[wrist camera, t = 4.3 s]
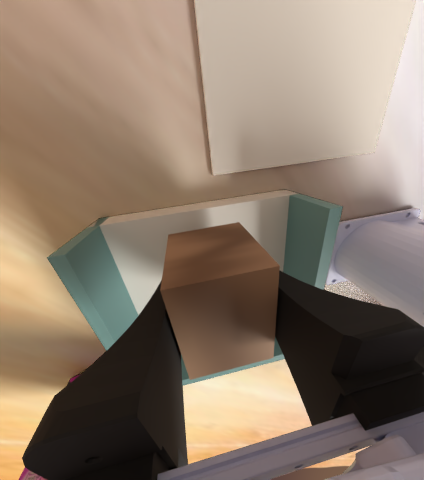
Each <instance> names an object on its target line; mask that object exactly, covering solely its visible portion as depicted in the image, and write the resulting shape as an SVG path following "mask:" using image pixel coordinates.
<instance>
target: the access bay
mask: <svg viewBox="0 0 424 480" xmlns="http://www.w3.org/2000/svg"><path fill="white" fill-rule="evenodd" d="M342 208H343V206H339V205H336V204H333V203H329V202H326V201H323V200H319V199H316V198H312V197H309V196H306V195H302V194H299V193H296V192H292V191H289V190H286V189H284V190H278V191H272V192H265V193H259V194H252V195H246V196H240V197H233V198H227V199H220V200H214V201H207V202H201V203H195V204H188V205H182V206H175V207H169V208H163V209H156V210H150V211H143V212H137V213H131V214H124V215H118V216H111V217H105V218H99V219H98V220H96V221H95V222H94V223H92V224H91V225H90V226H88V227H87V228H86V229H84V230H83V231H82V232H80V233H79V234H78V235H76V236H75V237H74V238H72V239H71V240H70V241H68V242H67V243H66V244H64V245H63V246H62V247H61V248H59V249H58V250H57V251H55V252H54V253H53V254H51V255H50V256H49V257H47V259H48V260H49V262H50V263H51V265H52V266H53V268H54V270H55V271H56V273H57V274H58V276H59V277H60V279H61V281H62V282H63V284H64V285H65V287H66V288H67V290H68V292H69V293H70V295H71V296H72V298H73V299H74V301H75V302H76V304H77V306H78V307H79V309H80V310H81V312H82V313H83V315H84V317H85V318H86V320H87V321H88V323H89V324H90V326H91V328H92V329H93V331H94V332H95V334H96V335H97V337H98V338H99V340H100V342H101V343H102V345H103V346H104V348H105V349H106V351H107V350H108V349H109V348H110V347H111V346H112V345H113V344H114V343H115V342H116V341H117V340H118V339H119V338H120V336H121V335H122V334H123V333H124V332H125V331H126V330H127V329H128V328H129V327H130V325H131V324H132V323H133V322H134V321H135V319H136V318H137V317H138V316H139V314H140V313H141V312H142V310H143V309H144V307H145V306H146V304H147V303H148V302H149V300H150V298H151V297H152V295H153V294H154V292H155V290H156V289H157V287H158V285H159V284H160V282H161V280H162V275H163V268H164V261H165V254H166V247H167V240H168V235H169V234H175V233H180V232H186V231H192V230H197V229H203V228H209V227H214V226H220V225H226V224H231V223H237V222H239V223H240V224H241V225H242V226H243V227H244V228H245V229H246V230H247V231H248V232H249V233H250V234H251V235H252V236H253V238H254V239H255V240H256V241H257V242H258V243H259V244H260V245H261V246H262V247H263V248H264V249H265V250H266V251H267V253H268V254H269V255H270V256H271V257H272V258H273V259H274V260H275V261H276V262H277V263H278V264H279V265H280V271H282V272H284V273H286V274H288V275H290V276H292V277H294V278H296V279H298V280H300V281H303V282H305V283H307V284H310V285H312V286H315V287H317V288H320V289H323V290H324V287H325V282H326V278H327V274H328V269H329V265H330V261H331V256H332V252H333V248H334V243H335V239H336V234H337V230H338V226H339V221H340V217H341V213H342ZM282 359H285V358H284V355H283V353H282V351H281V348H280V346H279V344H278V342H277V340H276V338H275V342H274V357H273V358H271V359H268V360H264V361H260V362H256V363H252V364H249V365H245V366H241V367H237V368H233V369H230V370H226V371H222V372H218V373H214V374H211V375H207V376H203V377H199V378H196V379H192V380H190V379H189V376H188V373H187V370H186V367H185V364H184V361H183V358H182V355H181V365H182V386H183V385H187V384H191V383H195V382H198V381H202V380H206V379H210V378H214V377H217V376H221V375H225V374H229V373H233V372H237V371H240V370H244V369H248V368H252V367H256V366H259V365H263V364H267V363H271V362H275V361H279V360H282Z"/></svg>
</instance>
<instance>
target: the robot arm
mask: <svg viewBox="0 0 424 480" xmlns="http://www.w3.org/2000/svg"><path fill="white" fill-rule="evenodd" d="M420 212H421V211H420V209H417V208H412V209H407V210H401V211H396V212H390V213H385V214H379V215H374V216H368V217H363V218H357V219H352V220H346V221H341V222H339V226H338V230H337V234H336V239H335V243H334V248H333V252H332V256H331V261H330V265H329V269H328V274H327V278H326V282H325V284H326V285H331V284H336V283H340V282H345V281H349V282H351V283H352V284H354V285H355V286H356V287H358V288H359V289H360V290H362V291H363V292H365V293H366V294H367V295H369V296H370V297H371V298H373V299H374V300H376V301H377V302H378V303H380V304H381V305H382V306H381V305H376V304H372V303H367V302H363V301H359V300H355V299H352V298H348V297H345V296H341V295H338V294H335V293H332V292H329V291H326V290H323V289H320V288H317V287H315V286H312V285H310V284H307V283H305V282H303V281H300V280H298V279H296V278H294V277H292V276H290V275H288V274H286V273H284V272H282V271H280V270H279V284H278V299H277V313H276V328H275V338H276V340H277V342H278V344H279V346H280V348H281V351H282V353H283V355H284V358H285V360H286V362H287V364H288V367H289V369H290V371H291V374H292V376H293V379H294V381H295V383H296V386H297V388H298V391H299V393H300V396H301V398H302V401H303V403H304V406H305V408H306V411H307V413H308V416H309V419H310V421H311V424H312V426H310V427H307V428H304V429H301V430H298V431H294V432H291V433H288V434H285V435H281V436H278V437H275V438H272V439H269V440H265V441H262V442H259V443H256V444H253V445H249V446H246V447H243V448H240V449H237V450H233V451H230V452H227V453H224V454H220V455H217V456H214V457H211V458H208V459H204V460H201V461H198V462H195V463H192V464H188V459H187V447H186V433H185V419H184V403H183V386H182V365H181V352H180V349H179V346H178V343H177V339H176V336H175V333H174V330H173V327H172V324H171V321H170V318H169V315H168V312H167V309H166V306H165V303H164V300H163V297H162V294H161V291H160V289H161V282H162V280H161V282H160V284H159V285H158V287H157V289H156V290H155V292H154V294H153V295H152V297H151V298H150V300H149V302H148V303H147V304H146V306H145V307H144V309H143V310H142V312H141V313H140V314H139V316H138V317H137V318H136V319H135V321H134V322H133V323H132V324H131V325H130V327H129V328H128V329H127V330H126V331H125V332H124V333H123V334H122V335H121V336H120V338H119V339H118V340H117V341H116V342H115V343H114V344H113V345H112V346H111V347H110V348H109V349H108V350H107V351H106V352H105V353H104V354H103V355H102V356H101V357H100V358H98V359H97V360H96V361H95V362H94V363H93V364H92V365H91V366H90V367H89V368H87V369H86V370H85V371H84V372H83V373H82V374H81V375H79V376H78V377H77V378H76V379H75V380H73V381H72V382H71V383H70V384H69V385H67V386H66V387H65V388H64V389H63V390H61V391H60V392H59V393H58V394H56V395H55V396H54V398H53V400H52V401H51V403H50V405H49V407H48V409H47V410H46V412H45V414H44V416H43V418H42V420H41V422H40V424H39V426H38V427H37V429H36V431H35V433H34V435H33V437H32V439H31V441H30V443H29V445H28V447H27V449H26V450H25V453H24V455H23V457H22V459H23V462H24V465H25V467H26V468H27V469H28V470H30V471H31V472H33V473H35V474H37V475H39V476H41V477H43V478H45V479H47V480H270V479H273V478H276V477H279V476H282V475H284V474H287V473H290V472H293V471H296V470H299V469H302V468H305V467H308V466H311V465H314V464H317V463H320V462H323V461H326V460H329V459H332V458H335V457H338V456H341V455H344V454H347V453H350V452H353V451H356V450H359V449H362V448H365V447H368V446H369V447H368V448H366V449H364V450H362V451H360V452H358V453H356V459H355V461H354V462H353V463H352V465H351V466H350V467H349V468H347V469H346V470H345V471H344V472H343V474H342V475H338V476H335V477H331V478H328V479H325V480H424V375H423V374H422V373H423V372H424V368H423V367H422V366H421V365H420V364H419V363H417V362H416V361H415V360H414V358H415V357H416V355H417V354H418V353H419V351H420V350H421V348H422V347H423V345H424V220H423V219H419V218H418V217H419V214H420Z"/></svg>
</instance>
